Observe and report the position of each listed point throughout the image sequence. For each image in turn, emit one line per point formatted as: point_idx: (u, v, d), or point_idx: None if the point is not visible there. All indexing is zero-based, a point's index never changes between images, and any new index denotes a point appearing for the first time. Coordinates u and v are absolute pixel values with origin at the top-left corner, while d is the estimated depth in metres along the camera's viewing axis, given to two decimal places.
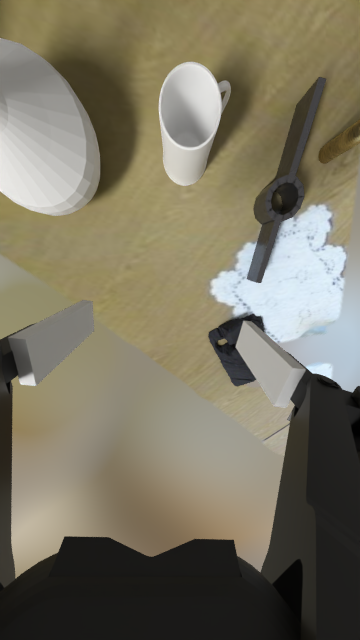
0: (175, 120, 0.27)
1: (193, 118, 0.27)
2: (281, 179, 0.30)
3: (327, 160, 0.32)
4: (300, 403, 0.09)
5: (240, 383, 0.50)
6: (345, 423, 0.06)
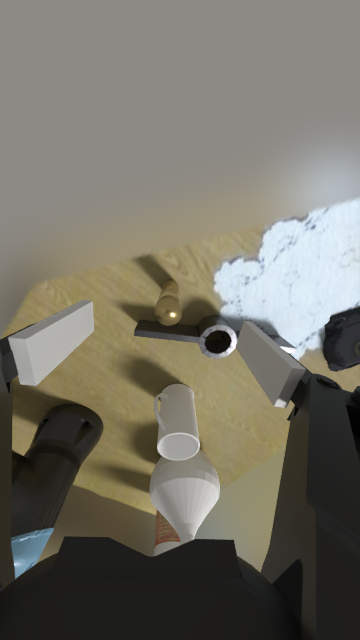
0: None
1: None
2: (202, 348, 0.31)
3: None
4: (300, 403, 0.09)
5: None
6: (345, 423, 0.06)
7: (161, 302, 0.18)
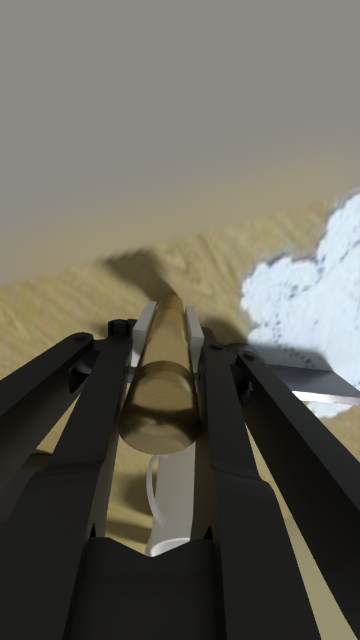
0: None
1: None
2: None
3: None
4: (201, 369, 0.10)
5: None
6: (229, 376, 0.07)
7: (137, 404, 0.06)
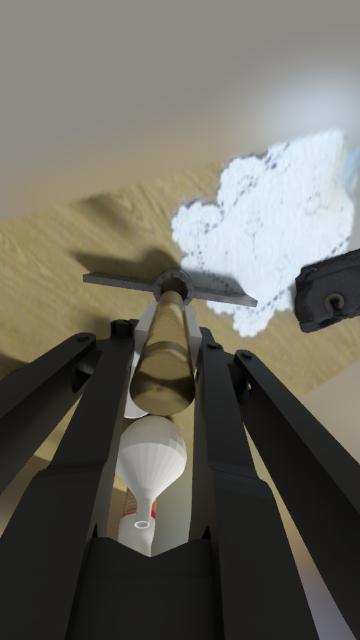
0: None
1: None
2: (157, 298, 0.30)
3: None
4: (199, 369, 0.10)
5: None
6: (227, 375, 0.07)
7: (145, 370, 0.07)
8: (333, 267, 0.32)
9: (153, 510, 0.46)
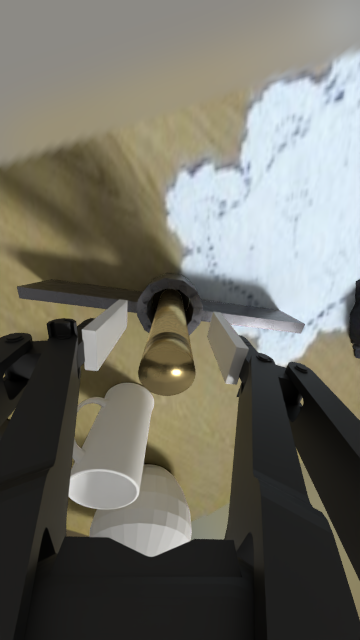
0: None
1: None
2: (144, 322, 0.18)
3: None
4: (245, 380, 0.10)
5: None
6: (278, 391, 0.07)
7: (152, 355, 0.08)
8: None
9: None
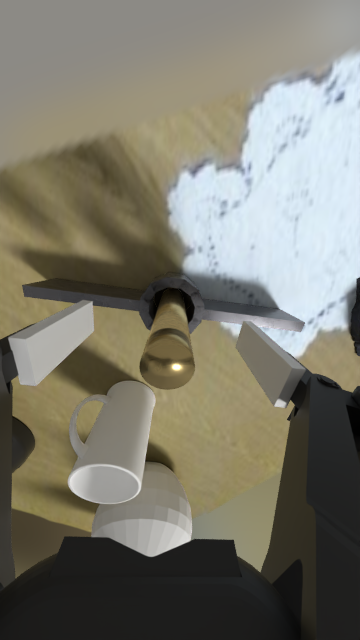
0: None
1: None
2: (146, 321, 0.19)
3: None
4: (300, 403, 0.09)
5: None
6: (345, 423, 0.06)
7: (153, 349, 0.09)
8: None
9: None
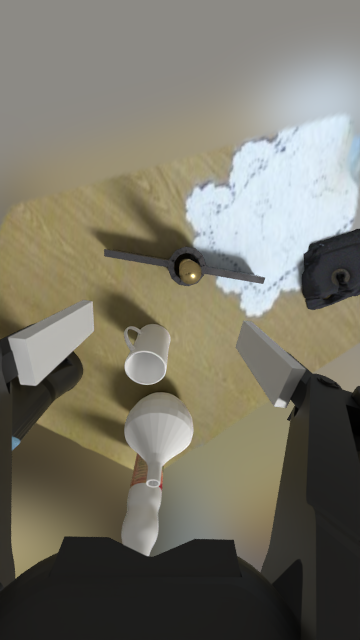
0: (139, 354, 0.40)
1: None
2: (171, 273, 0.32)
3: None
4: (300, 403, 0.09)
5: None
6: (345, 423, 0.06)
7: (185, 263, 0.22)
8: (340, 243, 0.34)
9: None
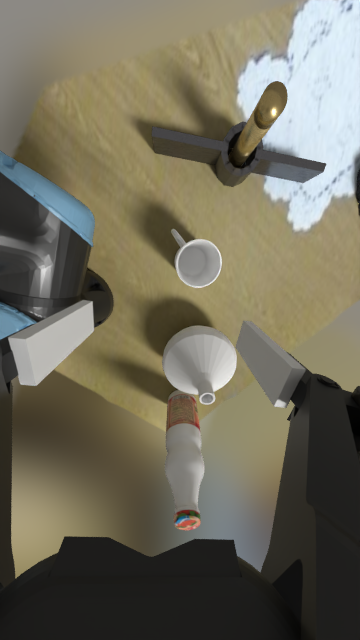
0: None
1: None
2: (224, 159, 0.29)
3: None
4: (300, 403, 0.09)
5: None
6: (345, 423, 0.06)
7: (270, 85, 0.19)
8: None
9: (198, 424, 0.45)
